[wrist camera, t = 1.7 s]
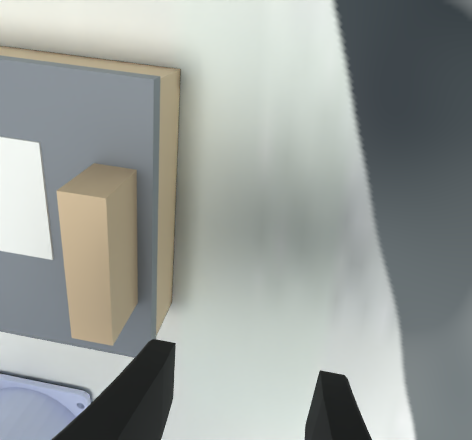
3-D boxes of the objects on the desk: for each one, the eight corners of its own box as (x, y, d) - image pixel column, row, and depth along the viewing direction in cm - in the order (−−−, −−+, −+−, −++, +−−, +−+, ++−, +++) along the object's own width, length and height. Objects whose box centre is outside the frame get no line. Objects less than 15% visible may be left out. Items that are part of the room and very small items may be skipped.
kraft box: (171, 302, 23) (153, 341, 20) (-2, 271, 24) (-41, 304, 21) (180, 69, 17) (157, 80, 15) (-46, 39, 18) (-107, 45, 16)
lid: (155, 349, 20) (129, 408, 17) (-49, 310, 21) (-107, 359, 18) (160, 76, 14) (122, 94, 11) (-120, 39, 15) (-221, 47, 12)
